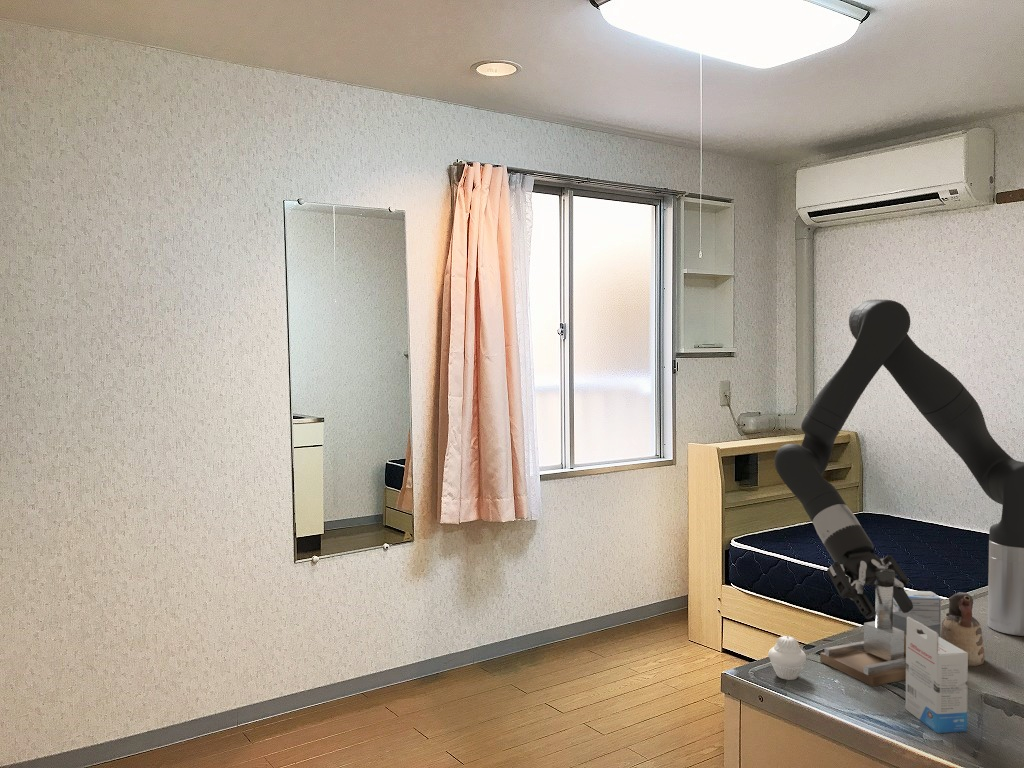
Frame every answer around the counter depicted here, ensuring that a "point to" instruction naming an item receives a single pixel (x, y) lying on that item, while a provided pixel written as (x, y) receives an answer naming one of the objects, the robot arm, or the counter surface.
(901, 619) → the grey metal frame
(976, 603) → the counter surface
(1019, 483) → the robot arm
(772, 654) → the muffin
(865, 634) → the press handle
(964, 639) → the figurine
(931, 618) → the medicine box
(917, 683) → the ink box
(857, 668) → the wooden tray with rails
